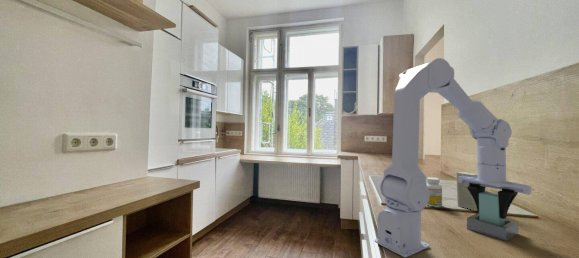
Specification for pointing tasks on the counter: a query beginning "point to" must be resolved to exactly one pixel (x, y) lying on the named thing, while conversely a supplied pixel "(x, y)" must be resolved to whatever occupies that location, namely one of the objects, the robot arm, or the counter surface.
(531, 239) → the counter surface
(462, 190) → the skincare box
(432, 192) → the supplement bottle
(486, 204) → the peg
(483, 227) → the socket
